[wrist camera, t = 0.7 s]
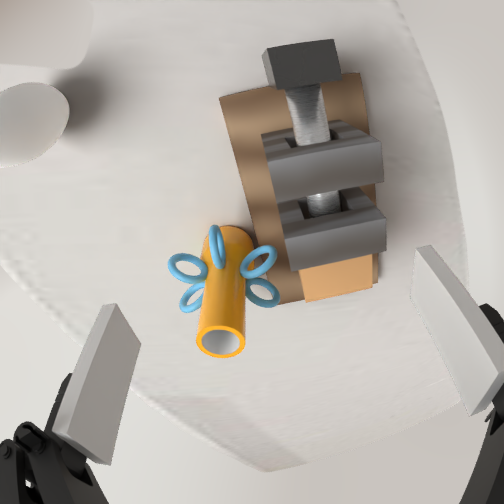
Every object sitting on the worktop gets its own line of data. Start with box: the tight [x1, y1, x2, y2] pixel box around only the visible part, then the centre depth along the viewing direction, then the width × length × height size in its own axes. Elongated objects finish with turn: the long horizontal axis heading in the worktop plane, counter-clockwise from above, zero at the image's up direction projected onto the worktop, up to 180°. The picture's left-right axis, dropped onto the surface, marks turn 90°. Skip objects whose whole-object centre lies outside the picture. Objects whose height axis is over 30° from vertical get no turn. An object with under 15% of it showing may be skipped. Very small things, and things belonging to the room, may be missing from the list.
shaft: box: [262, 39, 342, 219], centre depth 25 cm, size 22×4×7 cm, turn 13°
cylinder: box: [168, 225, 280, 358], centre depth 31 cm, size 12×10×15 cm
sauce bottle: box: [0, 83, 70, 167], centre depth 20 cm, size 8×8×18 cm
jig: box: [219, 73, 386, 305], centre depth 29 cm, size 26×14×12 cm, turn 13°
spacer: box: [298, 254, 372, 302], centre depth 30 cm, size 4×6×6 cm, turn 104°
